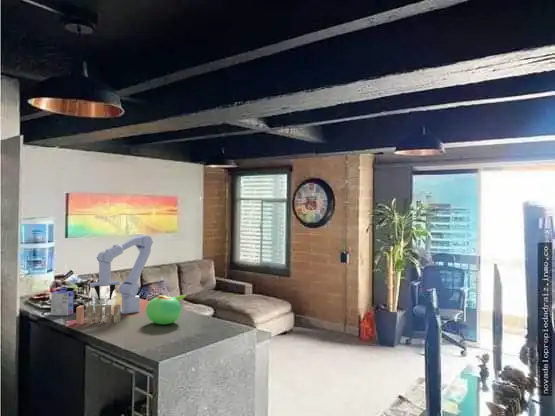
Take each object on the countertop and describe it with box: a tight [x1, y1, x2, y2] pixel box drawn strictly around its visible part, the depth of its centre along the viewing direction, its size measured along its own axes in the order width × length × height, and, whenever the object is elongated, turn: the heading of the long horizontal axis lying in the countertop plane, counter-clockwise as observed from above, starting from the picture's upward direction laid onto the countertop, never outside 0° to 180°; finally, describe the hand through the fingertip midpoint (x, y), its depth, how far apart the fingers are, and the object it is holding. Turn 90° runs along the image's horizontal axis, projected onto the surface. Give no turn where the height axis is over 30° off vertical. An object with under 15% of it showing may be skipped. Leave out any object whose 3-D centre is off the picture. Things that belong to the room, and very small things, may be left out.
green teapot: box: [145, 294, 187, 325], centre depth 210 cm, size 18×17×15 cm
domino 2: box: [85, 304, 94, 324], centre depth 212 cm, size 2×5×8 cm, turn 7°
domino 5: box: [113, 304, 121, 324], centre depth 214 cm, size 2×5×8 cm, turn 7°
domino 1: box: [75, 305, 85, 325], centre depth 211 cm, size 2×5×8 cm, turn 7°
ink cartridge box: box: [50, 286, 74, 316], centre depth 227 cm, size 10×6×14 cm, turn 89°
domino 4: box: [104, 304, 112, 324], centre depth 213 cm, size 2×5×8 cm, turn 7°
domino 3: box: [94, 304, 103, 324], centre depth 213 cm, size 2×5×8 cm, turn 7°
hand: (104, 299), depth 221 cm, fingers open, 5 cm apart
